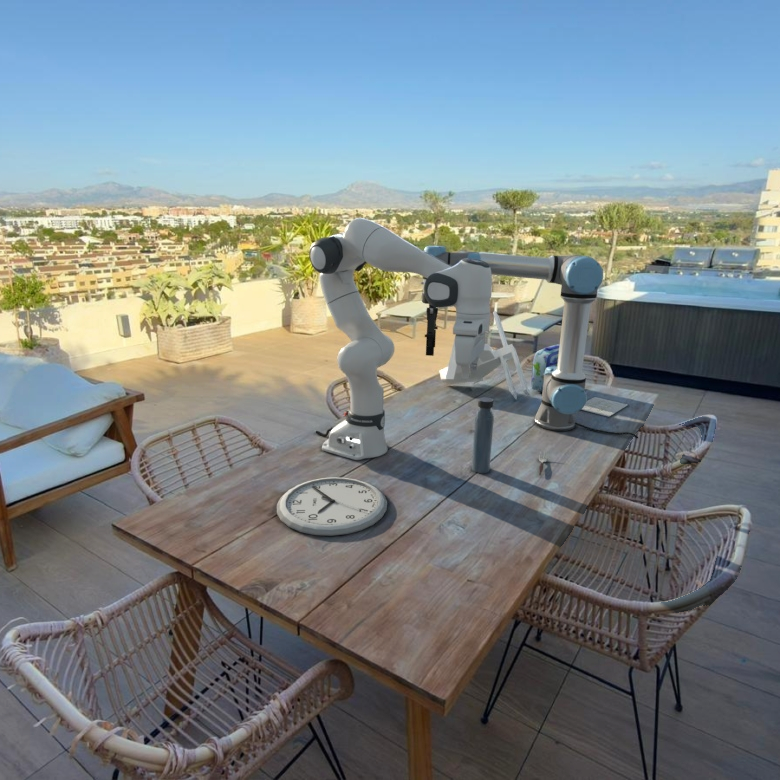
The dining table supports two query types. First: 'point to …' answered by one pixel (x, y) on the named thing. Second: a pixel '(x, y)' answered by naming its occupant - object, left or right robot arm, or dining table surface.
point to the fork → (542, 461)
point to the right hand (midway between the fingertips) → (430, 351)
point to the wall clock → (331, 506)
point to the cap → (485, 402)
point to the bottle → (482, 440)
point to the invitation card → (603, 406)
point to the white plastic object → (487, 364)
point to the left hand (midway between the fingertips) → (469, 374)
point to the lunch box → (543, 365)
